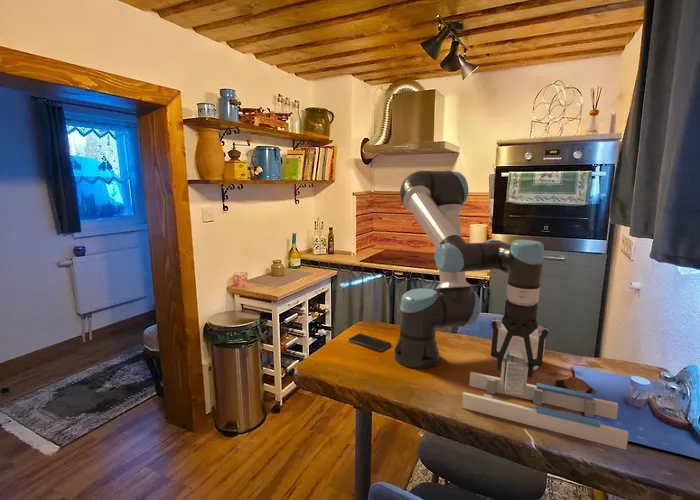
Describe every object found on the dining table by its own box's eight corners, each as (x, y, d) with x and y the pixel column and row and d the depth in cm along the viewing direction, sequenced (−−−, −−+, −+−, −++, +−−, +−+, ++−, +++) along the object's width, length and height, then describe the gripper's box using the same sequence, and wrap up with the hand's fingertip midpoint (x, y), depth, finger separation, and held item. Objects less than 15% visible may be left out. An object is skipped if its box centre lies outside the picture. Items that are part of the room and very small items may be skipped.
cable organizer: (545, 362, 126) (549, 329, 124) (536, 374, 118) (540, 339, 116) (500, 349, 136) (503, 318, 134) (489, 359, 128) (491, 327, 126)
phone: (380, 350, 133) (347, 339, 142) (380, 353, 133) (347, 342, 142) (392, 343, 139) (360, 332, 148) (392, 346, 139) (360, 335, 148)
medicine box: (523, 396, 97) (526, 365, 95) (504, 393, 98) (507, 362, 96) (520, 381, 104) (523, 351, 102) (502, 378, 105) (505, 349, 104)
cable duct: (461, 408, 100) (462, 392, 99) (470, 383, 113) (471, 368, 112) (626, 451, 85) (629, 432, 84) (615, 416, 97) (617, 399, 96)
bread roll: (570, 380, 116) (572, 368, 116) (598, 393, 109) (600, 381, 108) (547, 387, 112) (548, 376, 111) (575, 402, 104) (576, 390, 104)
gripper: (482, 300, 97) (475, 383, 101) (562, 311, 89) (551, 400, 94) (486, 292, 103) (479, 370, 108) (561, 302, 96) (550, 385, 100)
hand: (512, 384), depth 101 cm, fingers closed on medicine box, 5 cm apart
